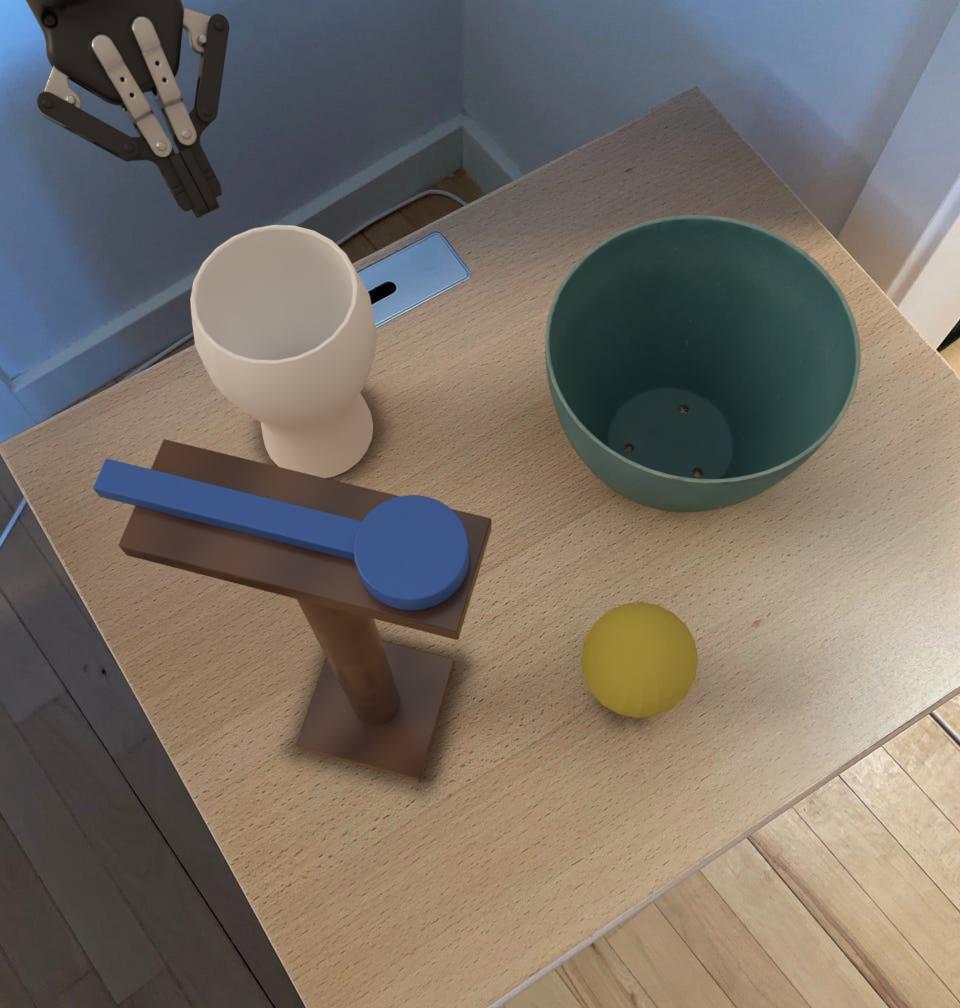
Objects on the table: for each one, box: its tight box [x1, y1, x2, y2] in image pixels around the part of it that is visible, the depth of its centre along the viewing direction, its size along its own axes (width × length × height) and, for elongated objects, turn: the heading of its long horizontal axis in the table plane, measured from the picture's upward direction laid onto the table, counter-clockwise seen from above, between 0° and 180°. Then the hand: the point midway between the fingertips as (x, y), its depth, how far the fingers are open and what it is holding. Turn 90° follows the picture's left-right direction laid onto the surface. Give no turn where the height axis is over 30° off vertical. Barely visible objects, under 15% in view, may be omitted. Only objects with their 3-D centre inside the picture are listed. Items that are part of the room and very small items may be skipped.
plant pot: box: [544, 214, 862, 514], centre depth 65 cm, size 18×18×12 cm
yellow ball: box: [580, 601, 699, 719], centre depth 60 cm, size 7×7×10 cm
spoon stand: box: [118, 438, 492, 782], centre depth 53 cm, size 14×8×26 cm, turn 75°
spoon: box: [92, 458, 470, 610], centre depth 40 cm, size 15×4×1 cm, turn 75°
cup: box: [189, 224, 378, 479], centre depth 64 cm, size 11×11×15 cm
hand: (208, 212), depth 65 cm, fingers closed
